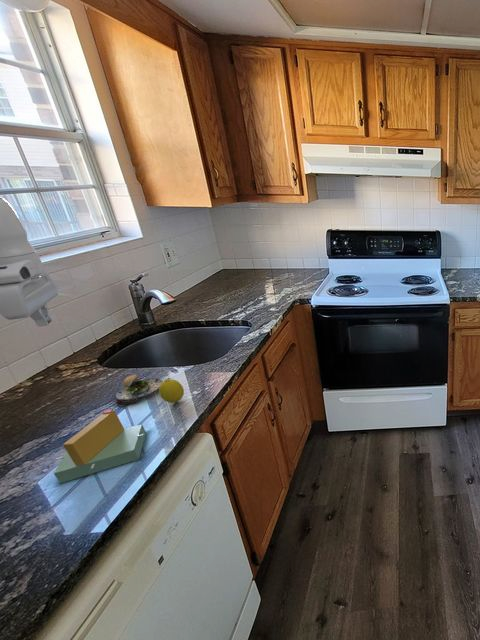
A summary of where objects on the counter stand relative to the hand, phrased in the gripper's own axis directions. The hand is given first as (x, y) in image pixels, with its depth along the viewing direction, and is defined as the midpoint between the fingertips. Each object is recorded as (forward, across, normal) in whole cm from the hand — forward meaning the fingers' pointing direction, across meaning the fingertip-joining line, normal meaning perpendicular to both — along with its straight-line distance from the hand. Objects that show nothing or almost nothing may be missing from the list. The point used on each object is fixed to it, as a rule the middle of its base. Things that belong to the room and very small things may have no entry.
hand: (45, 324), depth 88 cm
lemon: (+29, +1, +18) cm, 34 cm away
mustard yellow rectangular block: (+26, +19, +5) cm, 33 cm away
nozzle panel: (+29, +19, +6) cm, 35 cm away
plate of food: (+29, -11, +8) cm, 32 cm away
